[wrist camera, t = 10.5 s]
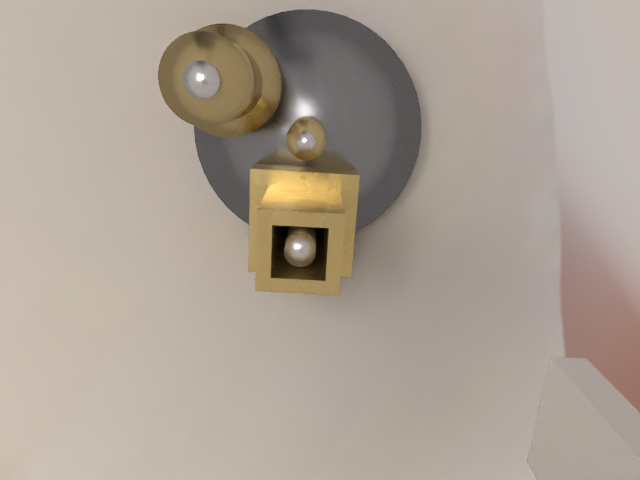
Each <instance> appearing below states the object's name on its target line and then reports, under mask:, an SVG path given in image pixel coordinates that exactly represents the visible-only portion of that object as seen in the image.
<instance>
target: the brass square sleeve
mask: <svg viewBox="0 0 640 480" xmlns="http://www.w3.org/2000/svg"><path fill="white" fill-rule="evenodd" d="M359 180H360V174H359V173H358V171H357V170H356V169H339V168H322V167H305V166H287V165H270V164H254V165H253V166H252V167H251V168H250V207H249V269H248V272H256V286H255V291H266V292H285V293H304V294H323V295H339V291H340V278H341V277H351V275H352V263H353V251H354V239H355V227H356V215H357V203H358V192H359ZM282 226H299V227H317V228H324V238H316V253H315V258H314V260H313V261H312V262H311V263H310V264H309V265H307V266H304V267H296V266H293V265H291V264H290V263H289V262H288V261H287V260H286V258H285V256H284V248H285V243H286V239H287V236H281V227H282Z"/></svg>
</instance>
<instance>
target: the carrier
mask: <svg viewBox="0 0 640 480" xmlns="http://www.w3.org/2000/svg"><path fill="white" fill-rule="evenodd" d="M158 79H159V86H160V90H161V93H162V96H163V98H164V100H165V102H166V103H167V105H168V106H169V108H170V109H171V110H172V111H173V112H174V113H175V114H176V115H177V116H178V117H180V118H181V119H182V120H184V121H186V122H188V123H190V124H193V125H194V131H195V142H196V147H197V152H198V157H199V160H200V162H201V165H202V168H203V171H204V173H205V175H206V177H207V179H208V181H209V183H210V185H211V186H212V188H213V189H214V191H215V192H216V194H217V195H218V197H219V198H220V199H221V200H222V201H223V203H224V204H225V205H226V206H227V207H228V208H229V209H230V210H231V211H232V212H233V213H234V214H236V215H237V216H238V217H239V218H241V219H242V220H243V221H245V222H246V223H248V224H249V207H250V168H251V167H252V166H253V165H254V164H270V165H287V166H305V167H322V168H339V169H356V170H357V171H358V173H359V174H360V180H359V192H358V203H357V215H356V227H355V231H357V230H359V229H360V228H362V227H364V226H366V225H368V224H369V223H370V222H372V221H373V220H375V219H376V218H377V217H379V216H380V215H381V214H382V213H383V212H384V211H385V210H386V209H387V208H388V207H389V206H390V205H391V204H392V203H393V202H394V201H395V199H396V198H397V197H398V196H399V194H400V193H401V191H402V189H403V188H404V186H405V185H406V183H407V181H408V179H409V177H410V175H411V173H412V170H413V168H414V165H415V162H416V158H417V155H418V150H419V145H420V136H421V117H420V108H419V103H418V98H417V94H416V91H415V88H414V85H413V82H412V80H411V78H410V76H409V74H408V72H407V70H406V68H405V66H404V64H403V63H402V61H401V60H400V59H399V57H398V56H397V54H396V53H395V52H394V51H393V49H392V48H391V47H390V46H389V45H388V44H387V43H386V42H385V41H384V40H383V39H382V38H381V37H379V36H378V35H377V34H376V33H375V32H373V31H372V30H370V29H369V28H367V27H366V26H364V25H362V24H361V23H359V22H357V21H355V20H352V19H350V18H348V17H346V16H343V15H339V14H336V13H332V12H327V11H320V10H293V11H287V12H281V13H278V14H275V15H271V16H268V17H266V18H263V19H261V20H259V21H257V22H255V23H253V24H251V25H250V26H248V27H247V28H242V27H240V26H236V25H232V24H214V25H209V26H206V27H203V28H201V29H199V30H197V31H195V32H190V33H187V34H184V35H182V36H180V37H178V38H177V39H175V40H174V41H173V42H172V43H171V44H170V45H169V46H168V48H167V49H166V51H165V52H164V54H163V56H162V58H161V61H160V65H159V71H158ZM281 236H287V239H286V243H285V248H284V256H285V258H286V260H287V261H288V262H289V263H290V264H291V265H293V266H296V267H304V266H307V265H309V264H310V263H311V262H312V261H313V260H314V258H315V253H316V238H324V228H317V227H299V226H282V227H281Z"/></svg>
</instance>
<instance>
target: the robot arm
mask: <svg viewBox="0 0 640 480" xmlns="http://www.w3.org/2000/svg"><path fill="white" fill-rule="evenodd" d="M527 462H528V464H529V466H530V468H531V469H532V471H533V473H534V475H535V476H536V478H537V480H640V412H638V410H637V409H636V408H635V407H634V406H633V405H632V404H630V402H629V401H628V400H627V399H626V398H625V397H624V396H623V395H622V394H621V393H620V392H619V391H618V390H617V389H616V388H615V387H614V386H613V385H612V384H611V383H610V382H609V381H608V380H607V379H606V378H605V377H604V376H603V375H602V374H601V373H600V372H599V371H598V370H597V369H596V368H595V367H594V366H593V365H592V364H591V363H590V362H589V361H588V360H587V359H586V358H566V357H550V361H549V366H548V370H547V375H546V379H545V384H544V388H543V393H542V397H541V402H540V406H539V410H538V415H537V419H536V424H535V428H534V433H533V437H532V442H531V446H530V451H529V455H528V459H527Z"/></svg>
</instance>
